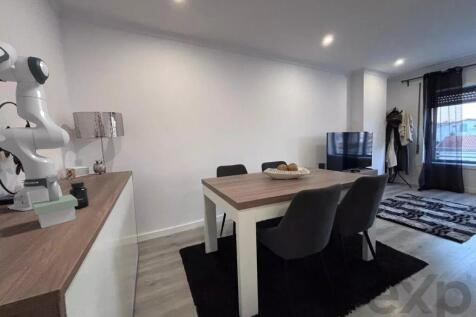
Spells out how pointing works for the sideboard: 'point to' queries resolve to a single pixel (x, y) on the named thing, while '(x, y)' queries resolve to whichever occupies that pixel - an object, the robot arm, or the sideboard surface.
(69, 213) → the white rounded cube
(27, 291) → the sideboard surface
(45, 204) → the t-shaped pedestal stand
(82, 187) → the supplement bottle
